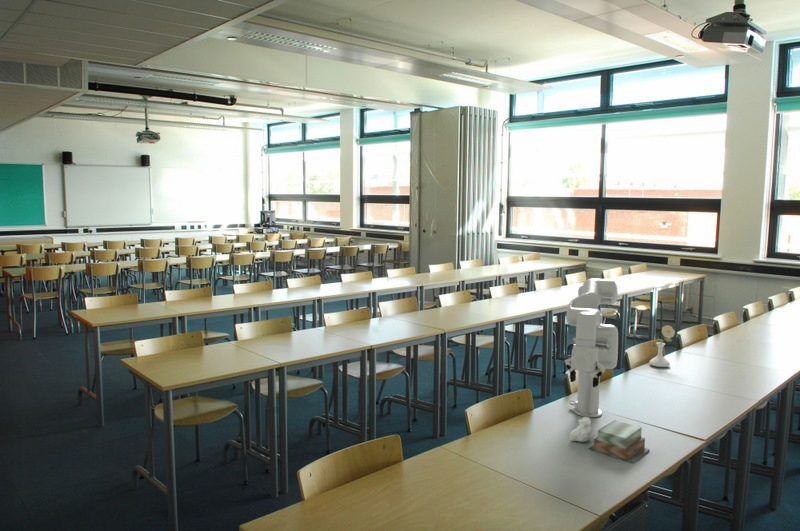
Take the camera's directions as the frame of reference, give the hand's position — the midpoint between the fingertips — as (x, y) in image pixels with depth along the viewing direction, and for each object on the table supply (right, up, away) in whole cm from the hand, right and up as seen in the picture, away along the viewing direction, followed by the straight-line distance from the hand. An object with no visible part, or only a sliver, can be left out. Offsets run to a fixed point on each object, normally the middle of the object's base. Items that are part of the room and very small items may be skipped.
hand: (583, 383), depth 237 cm
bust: (0, -24, +3) cm, 24 cm away
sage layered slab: (+12, -25, -7) cm, 28 cm away
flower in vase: (+81, -12, +111) cm, 137 cm away
